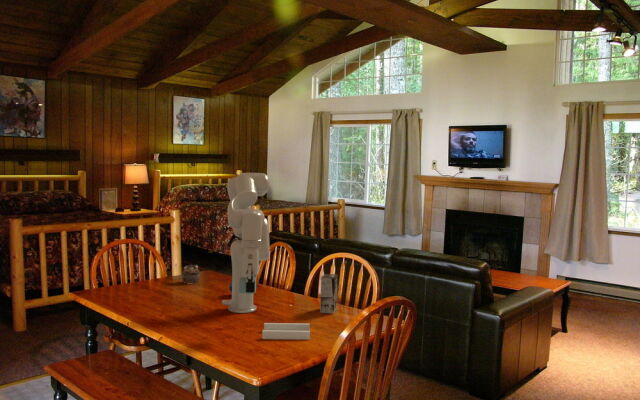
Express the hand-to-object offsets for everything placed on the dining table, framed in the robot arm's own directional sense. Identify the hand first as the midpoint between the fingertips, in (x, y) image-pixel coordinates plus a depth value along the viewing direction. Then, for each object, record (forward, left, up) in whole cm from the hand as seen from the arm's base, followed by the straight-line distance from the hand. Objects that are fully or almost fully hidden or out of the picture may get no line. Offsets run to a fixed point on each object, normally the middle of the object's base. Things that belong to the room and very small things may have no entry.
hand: (251, 289), depth 209 cm
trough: (+14, 0, -18) cm, 22 cm away
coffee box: (+32, +35, -18) cm, 50 cm away
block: (-1, 0, -1) cm, 2 cm away
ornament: (-12, +60, -18) cm, 63 cm away
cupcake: (-41, +87, -18) cm, 98 cm away
